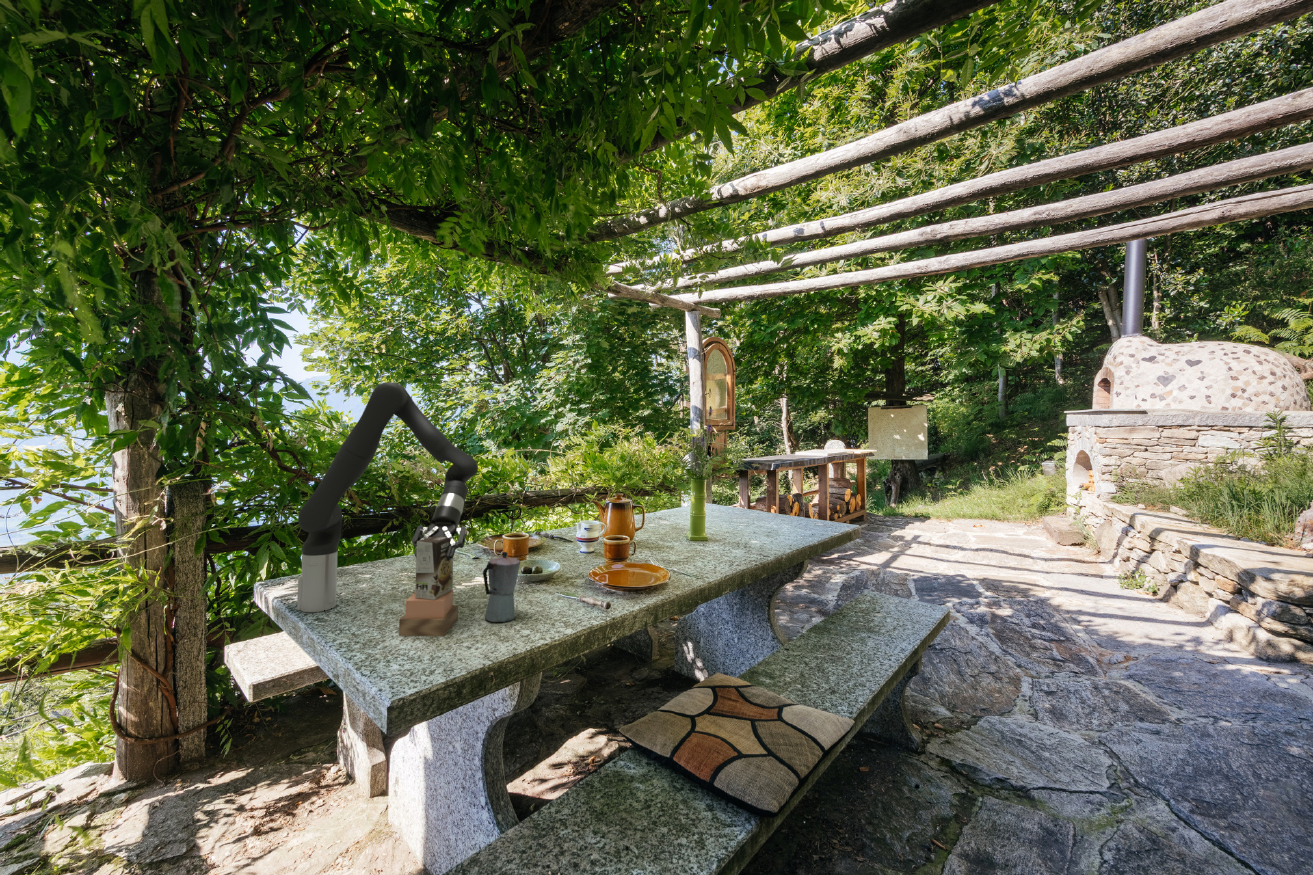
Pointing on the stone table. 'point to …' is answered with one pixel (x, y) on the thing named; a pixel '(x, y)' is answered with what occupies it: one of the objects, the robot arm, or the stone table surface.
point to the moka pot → (501, 588)
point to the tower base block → (428, 625)
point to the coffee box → (433, 568)
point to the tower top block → (429, 607)
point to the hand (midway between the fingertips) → (432, 558)
